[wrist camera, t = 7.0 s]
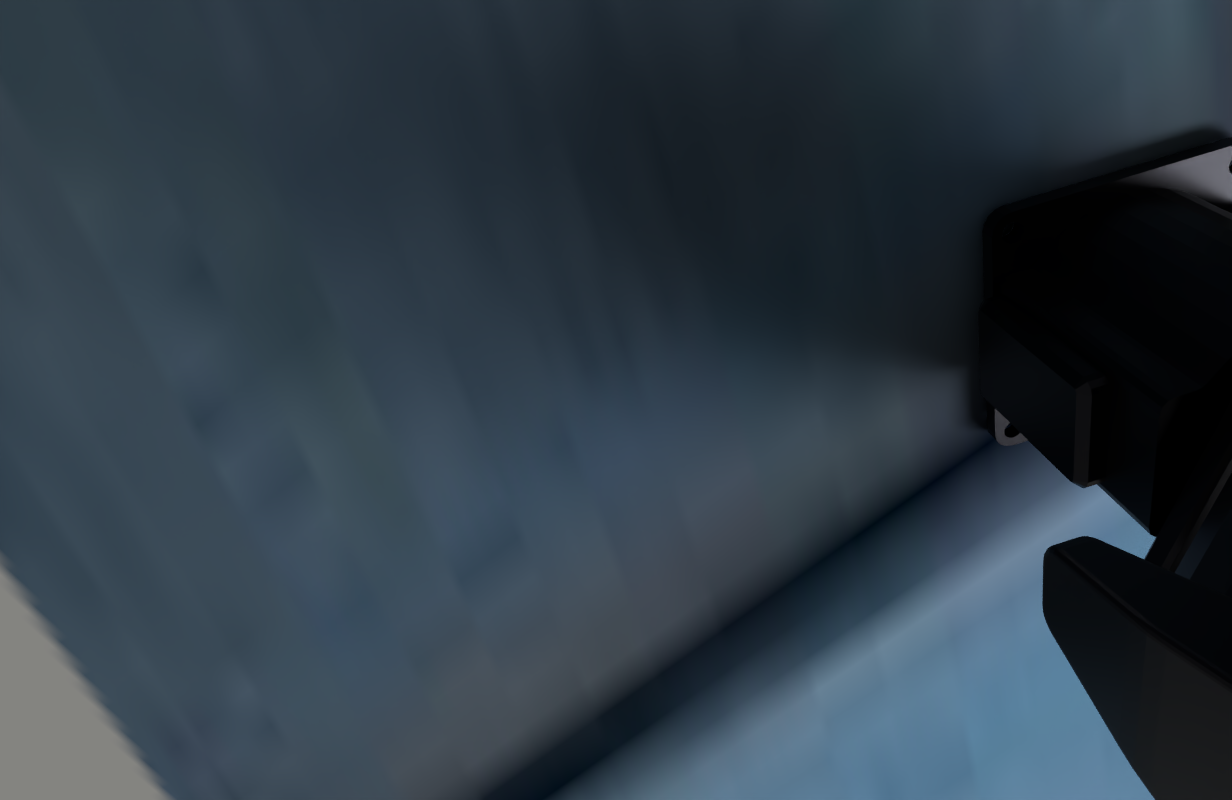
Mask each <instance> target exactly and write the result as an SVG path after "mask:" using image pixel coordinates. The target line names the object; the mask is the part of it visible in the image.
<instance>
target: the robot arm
mask: <svg viewBox="0 0 1232 800" xmlns="http://www.w3.org/2000/svg"><path fill="white" fill-rule="evenodd" d="M1231 160H1232V137H1231V138H1226V139H1223V140H1220V141H1216V142H1213V143H1210V144H1206V145H1203V146H1200V147H1196V148H1193V149H1190V150H1187V151H1183V152H1180V153H1177V154H1173V155H1170V156H1167V157H1163V158H1160V159H1157V160H1153V161H1150V162H1147V163H1143V164H1140V165H1137V166H1133V167H1130V168H1127V169H1123V170H1120V171H1117V172H1113V173H1110V174H1107V175H1104V176H1100V177H1097V178H1094V179H1090V180H1087V181H1084V182H1080V183H1077V184H1074V185H1070V186H1067V187H1064V188H1060V189H1057V190H1054V191H1050V192H1047V193H1044V194H1040V195H1037V196H1034V197H1031V198H1027V199H1024V200H1021V201H1017V202H1014V203H1011V204H1007V205H1004V206H1002V207H1000V208H998V209H996V210H994V211H993V212H992V213H991V214H990V215H989V216H988V218H987V220H986V222H985V223H984V228H983V268H984V301H983V302H982V304H981V307H980V309H979V312H978V317H979V355H980V391H981V395H982V396H983V397H984V398H985V399H986V400H987V428H988V432H989V433H990V434H991V435H992V436H993V437H994V438H995V439H996V440H997V441H998V442H999V443H1000V444H1001V445H1005V446H1010V445H1015V444H1018V443H1021V442H1025V441H1029V442H1030V443H1031V444H1032V445H1033V446H1034V447H1036V448H1037V449H1038V450H1039V451H1040V452H1041V453H1042V454H1043V455H1044V456H1045V457H1046V458H1047V459H1048V460H1049V461H1050V462H1051V463H1052V464H1053V465H1054V466H1055V467H1056V468H1057V469H1058V470H1059V471H1060V472H1061V473H1062V474H1063V475H1064V476H1065V477H1066V478H1067V479H1069V480H1070V481H1071V482H1072V483H1074V484H1076V485H1078V486H1080V487H1082V488H1086V487H1089V486H1092V485H1095V484H1097V485H1098V486H1099V487H1100V488H1102V489H1103V490H1104V491H1105V492H1106V493H1107V494H1108V495H1109V496H1110V497H1111V498H1112V499H1113V500H1114V501H1115V502H1116V503H1117V504H1119V505H1120V506H1121V507H1122V508H1123V509H1124V510H1125V511H1126V512H1127V513H1128V514H1129V515H1130V516H1131V517H1132V518H1133V519H1135V520H1136V521H1137V522H1138V523H1139V524H1140V525H1141V526H1142V527H1143V528H1144V529H1145V530H1146V531H1147V532H1148V533H1149V534H1151V535H1153V536H1155V537H1156V538H1155V540H1154V542H1153V544H1152V546H1151V548H1150V549H1149V551H1148V553H1147V555H1146V557H1145V559H1142V558H1139V557H1137V556H1135V555H1133V554H1130V553H1128V552H1126V551H1123V550H1121V549H1119V548H1117V547H1114V546H1112V545H1110V544H1107V543H1105V542H1103V541H1101V540H1098V539H1096V538H1093V537H1088V536H1082V537H1078V538H1075V539H1071V540H1068V541H1065V542H1062V543H1059V544H1056V545H1053V546H1051V547H1049V548H1048V549H1047V550H1046V552H1045V554H1044V560H1043V613H1044V617H1045V620H1046V623H1047V625H1048V627H1049V629H1050V631H1051V633H1052V635H1053V637H1054V638H1055V640H1056V642H1057V643H1058V645H1059V647H1060V648H1061V650H1062V652H1063V653H1064V655H1065V657H1066V658H1067V660H1068V662H1069V663H1070V665H1071V667H1072V668H1073V670H1074V672H1075V674H1076V675H1077V677H1078V679H1079V680H1080V682H1081V684H1082V685H1083V687H1084V689H1085V690H1086V692H1087V694H1088V695H1089V697H1090V699H1091V700H1092V702H1093V704H1094V705H1095V707H1096V709H1097V710H1098V712H1099V714H1100V716H1101V717H1102V719H1103V721H1104V722H1105V724H1106V726H1107V727H1108V729H1109V731H1110V732H1111V734H1112V736H1113V737H1114V739H1115V741H1116V742H1117V744H1118V746H1119V747H1120V749H1121V751H1122V752H1123V754H1124V755H1125V757H1126V758H1127V760H1128V762H1129V763H1130V765H1131V766H1132V768H1133V769H1134V771H1135V772H1136V774H1137V775H1138V776H1139V778H1140V779H1141V781H1142V782H1143V784H1144V785H1145V786H1146V788H1147V789H1148V791H1149V792H1150V793H1151V795H1152V796H1153V797H1154V799H1155V800H1232V165H1231V166H1230V167H1229V165H1230V162H1231ZM1011 222H1014V225H1013V229H1012V230H1011V231H1010V232H1009V234H1007V235H1005V236H1002V233H1003V230H1004V228H1005V227H1006V226H1007V225H1008V224H1010V223H1011ZM1009 423H1011V424H1012V425H1011V426H1010V427H1008V428H1007V429H1005V428H1006V426H1007V425H1008V424H1009Z"/></svg>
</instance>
